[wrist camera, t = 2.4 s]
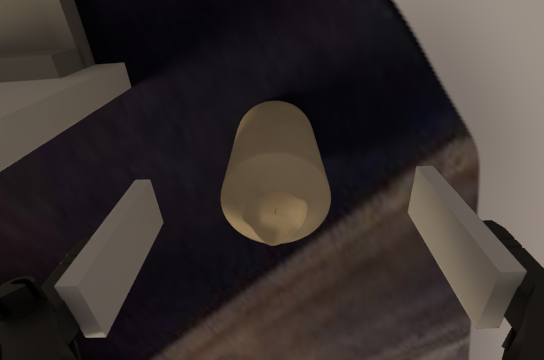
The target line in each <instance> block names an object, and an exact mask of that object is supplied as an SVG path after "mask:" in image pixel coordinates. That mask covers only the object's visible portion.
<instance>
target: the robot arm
mask: <svg viewBox="0 0 544 360" xmlns="http://www.w3.org/2000/svg"><path fill="white" fill-rule="evenodd" d="M408 214H409V216H410V217H411V219H412V221H413V222H414V224H415V226H416V228H417V229H418V231H419V233H420V234H421V236H422V238H423V239H424V241H425V243H426V245H427V246H428V248H429V250H430V251H431V253H432V255H433V257H434V258H435V260H436V262H437V263H438V265H439V267H440V268H441V270H442V272H443V274H444V275H445V277H446V279H447V280H448V282H449V284H450V285H451V287H452V289H453V291H454V292H455V294H456V296H457V297H458V299H459V301H460V303H461V304H462V306H463V308H464V309H465V311H466V313H467V314H468V316H469V318H470V320H471V321H472V323H473V325H474V326H475V328H477V329H478V328H499V326H500V324H501V322H502V320H503V318H504V317H505V318H506V319H507V321H508V322H509V324H510V325H511V327H512V328H511V330H510V331H509V334H508V335H507V337H506V339H505V341H504V343H503V345H502V347H503V348H505V349H504V353H503V357H502V360H544V268H543V267H542V266H541V265H540V264H539V263H538V262H537V261H536V260H535V259H534V258H533V257H532V256H531V255H530V254H529V253H528V252H527V251H526V250H525V248H522V245H521V244H520V243H519V242H518V241H517V240H515V239H514V237H513V236H512V235H511V234H510V233H509V232H508V231H507V230H506V229H505V228H504V227H502V226H500V225H499V224H497V223H496V222H494V221H492V220H485V221H482V220H481V219H480V218H479V217H478V216H477V215H476V214H475V212H474V211H473V210H472V209H471V208H470V207H469V206H468V205H467V204H466V202H465V201H464V200H463V199H462V198H461V197H460V196H459V195H458V193H457V192H456V191H455V190H454V189H453V188H452V187H451V186H450V184H449V183H448V182H447V181H446V180H445V179H444V178H443V177H442V175H441V174H440V173H439V172H438V171H437V170H436V169H435V168H434V166H417V167H416V172H415V177H414V182H413V187H412V193H411V198H410V203H409V208H408ZM162 225H163V220H162V216H161V213H160V210H159V207H158V203H157V200H156V197H155V194H154V191H153V187H152V184H151V181H150V180H135V181H134V182H133V184H132V185H131V186H130V188H129V189H128V190H127V192H126V193H125V194H124V196H123V197H122V198H121V199H120V201H119V202H118V203H117V205H116V206H115V207H114V209H113V210H112V211H111V213H110V214H109V215H108V216H107V218H106V219H105V220H104V222H103V223H102V224H101V226H100V227H99V228H98V230H97V231H96V232H95V233H94V235H93V236H92V237H85V238H83V239H82V240H81V241H79V242H78V243H77V244H75V245H74V246H73V247H72V249H71V250H70V251H69V252H68V253H67V255H66V257H64V258H63V260H62V261H61V262H60V265H58V266H57V267H56V268H55V270H54V271H53V272H52V273H51V274H50V276H49V277H48V278H47V279H46V281H45V282H44V283H43V284H42V286H41V287H40V285H39V284H38V282H37V281H36V279H35V278H34V277H32V276H21V277H17V278H14V279H12V280H10V281H8V282H6V283H4V284H2V285H1V286H0V360H82V358H81V355H80V351H79V348H78V344H77V342H76V340H75V339H74V337H75V335H76V333H77V332H78V330H79V328H80V329H81V331H82V332H83V334H84V336H85V337H86V338H93V337H106V336H107V334H108V332H109V330H110V328H111V326H112V324H113V322H114V320H115V318H116V316H117V314H118V312H119V310H120V308H121V306H122V304H123V302H124V300H125V298H126V296H127V294H128V292H129V290H130V288H131V286H132V284H133V282H134V280H135V278H136V276H137V274H138V272H139V270H140V268H141V266H142V264H143V262H144V260H145V258H146V256H147V255H148V253H149V251H150V249H151V247H152V245H153V243H154V241H155V239H156V237H157V235H158V233H159V231H160V229H161V227H162Z"/></svg>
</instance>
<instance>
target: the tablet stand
mask: <svg viewBox="0 0 544 360" xmlns="http://www.w3.org/2000/svg"><path fill="white" fill-rule="evenodd" d="M130 88H131V84H130V81H129V77H128V74H127V70H126V67H125V63H111V64H97V65H96V64H95V61H94V58H93V55H92V52H91V49H90V46H89V43H88V40H87V37H86V34H85V31H84V28H83V25H82V22H81V19H80V16H79V13H78V10H77V7H76V4H75V1H74V0H0V171H2V170H3V169H5V168H7V167H8V166H10V165H11V164H13V163H14V162H16V161H18V160H19V159H21V158H22V157H24V156H25V155H27V154H28V153H30V152H32V151H33V150H35V149H36V148H38V147H39V146H41V145H42V144H44V143H46V142H47V141H49V140H50V139H52V138H53V137H55V136H56V135H58V134H60V133H61V132H63V131H64V130H66V129H67V128H69V127H70V126H72V125H74V124H75V123H77V122H78V121H80V120H81V119H83V118H85V117H86V116H88V115H89V114H91V113H92V112H94V111H95V110H97V109H99V108H100V107H102V106H103V105H105V104H106V103H108V102H109V101H111V100H113V99H114V98H116V97H117V96H119V95H120V94H122V93H123V92H125V91H127V90H128V89H130Z"/></svg>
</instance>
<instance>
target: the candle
mask: <svg viewBox="0 0 544 360" xmlns="http://www.w3.org/2000/svg"><path fill="white" fill-rule="evenodd" d="M330 203H331V192H330V188H329V184H328V180H327V177H326V174H325V170H324V167H323V163H322V160H321V157H320V153H319V150H318V146H317V143H316V140H315V136H314V133H313V130H312V127H311V124H310V122H309V120H308V118H307V117H306V115H305V114H304V113H303V112H302V111H301V110H300V109H299V108H297V107H296V106H294V105H292V104H290V103H287V102H284V101H267V102H263V103H260V104H258V105H256V106H255V107H253V108H252V109H250V110H249V111H248V112H247V113H246V114H245V116H244V117H243V119H242V120H241V122H240V125H239V127H238V131H237V134H236V138H235V142H234V145H233V149H232V153H231V156H230V160H229V164H228V168H227V171H226V175H225V179H224V183H223V186H222V191H221V206H222V209H223V212H224V214H225V217H226V218H227V220H228V221H229V223H230V224H231V225H232V226H233V227H234V228H235V229H236V230H237V231H238V232H240V233H241V234H243V235H244V236H246V237H248V238H250V239H253V240H256V241H259V242H263V243H266V244H268V245H272V246H274V245H278V244H281V243H288V242H292V241H296V240H299V239H301V238H303V237H305V236H307V235H309V234H310V233H312V232H313V231H314V230H315V229H317V228H318V227H319V226H320V224H321V223H322V222H323V221H324V219H325V217H326V216H327V213H328V211H329V208H330Z"/></svg>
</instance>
